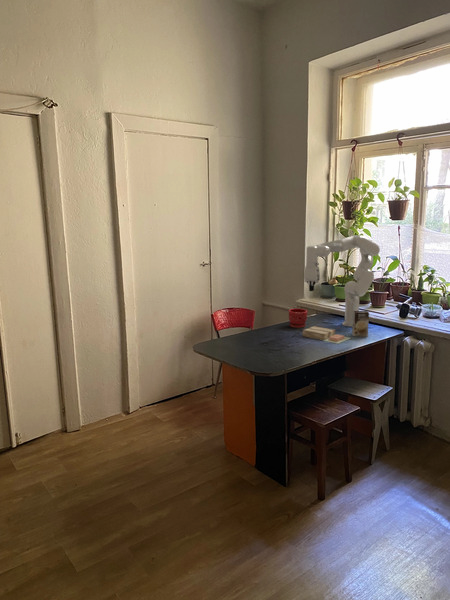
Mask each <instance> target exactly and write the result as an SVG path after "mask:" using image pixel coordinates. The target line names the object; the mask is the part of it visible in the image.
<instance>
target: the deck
mask: <svg viewBox="0 0 450 600" xmlns="http://www.w3.org/2000/svg"><path fill="white" fill-rule="evenodd" d="M333 335H336V329H334V328H333V329H331V328H326V327H323V326H322V327H320V326H314V325H313V326H310V327H308V328H305V329H302V337H307V338H311V339H315V340H321V341H323V340H325V339H328V338H329V337H331V336H333Z"/></svg>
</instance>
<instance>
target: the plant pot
mask: <svg viewBox="0 0 450 600" xmlns="http://www.w3.org/2000/svg"><path fill="white" fill-rule="evenodd" d="M288 319H289V323H288V324H289V326H290V327H291V328H295V329H301V328H304V327H305V326H306V322H307V319H308V310H307V309H304V308H290V309H288Z"/></svg>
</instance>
